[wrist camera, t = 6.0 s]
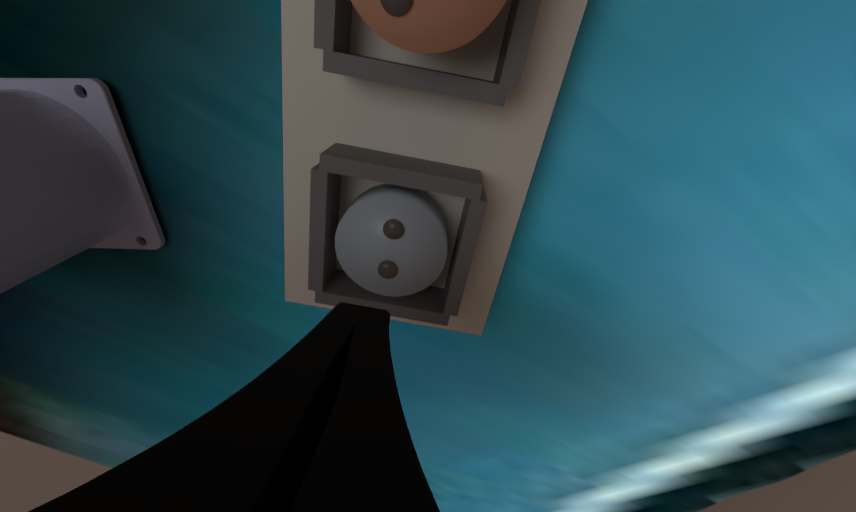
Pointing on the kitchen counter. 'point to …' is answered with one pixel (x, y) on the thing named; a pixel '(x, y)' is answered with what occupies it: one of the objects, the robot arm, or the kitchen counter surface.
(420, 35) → the three pip button
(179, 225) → the kitchen counter surface
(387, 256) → the two pip button
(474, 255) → the button panel
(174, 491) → the robot arm
